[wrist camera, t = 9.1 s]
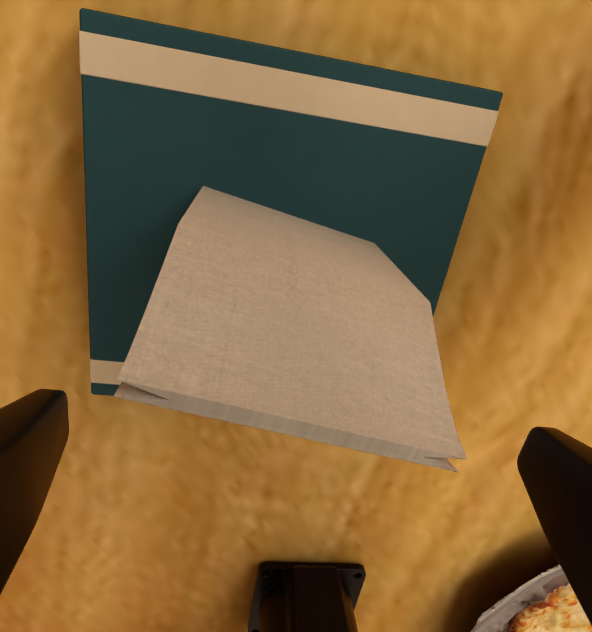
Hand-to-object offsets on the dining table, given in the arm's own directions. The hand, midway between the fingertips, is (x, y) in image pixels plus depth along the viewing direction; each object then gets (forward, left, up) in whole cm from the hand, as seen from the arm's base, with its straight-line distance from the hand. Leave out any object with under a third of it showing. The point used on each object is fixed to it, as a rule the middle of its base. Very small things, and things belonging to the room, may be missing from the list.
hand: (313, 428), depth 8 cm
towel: (0, 0, -11) cm, 11 cm away
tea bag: (0, 0, -10) cm, 10 cm away
